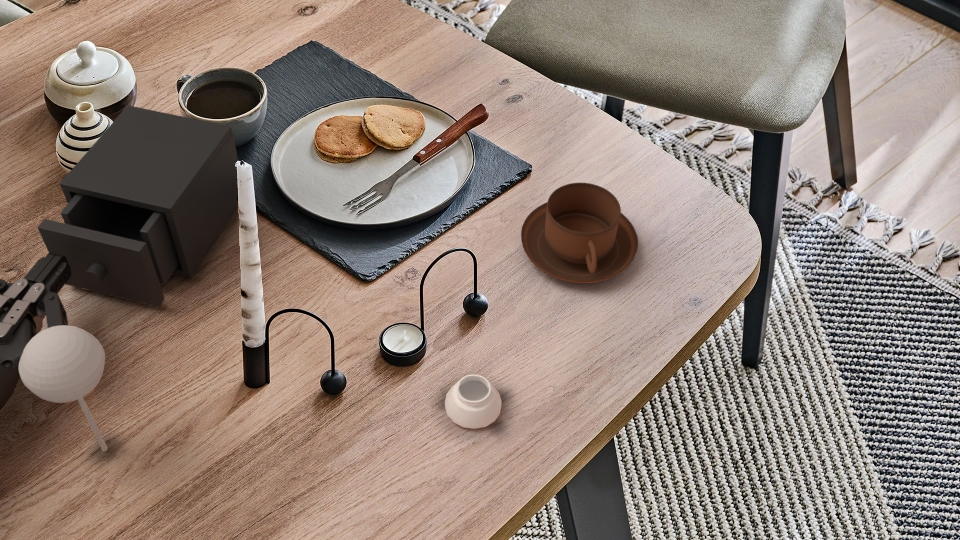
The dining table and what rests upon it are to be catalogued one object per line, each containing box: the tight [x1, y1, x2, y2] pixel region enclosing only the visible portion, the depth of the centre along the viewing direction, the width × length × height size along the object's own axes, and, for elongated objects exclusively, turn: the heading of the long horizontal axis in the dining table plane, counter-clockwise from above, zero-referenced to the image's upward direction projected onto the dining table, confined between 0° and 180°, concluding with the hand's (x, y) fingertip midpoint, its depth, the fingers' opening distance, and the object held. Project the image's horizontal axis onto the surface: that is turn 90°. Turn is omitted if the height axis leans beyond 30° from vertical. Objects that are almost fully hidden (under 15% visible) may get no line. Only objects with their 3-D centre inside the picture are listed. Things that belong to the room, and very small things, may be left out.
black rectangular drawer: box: [37, 193, 180, 308], centre depth 92 cm, size 13×10×8 cm
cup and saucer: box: [520, 182, 639, 284], centre depth 96 cm, size 12×12×6 cm
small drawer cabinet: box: [59, 105, 239, 279], centre depth 96 cm, size 13×12×10 cm
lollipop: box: [19, 324, 109, 452], centre depth 75 cm, size 6×6×15 cm
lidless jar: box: [444, 373, 503, 430], centre depth 84 cm, size 5×3×5 cm
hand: (60, 260), depth 87 cm, fingers closed
